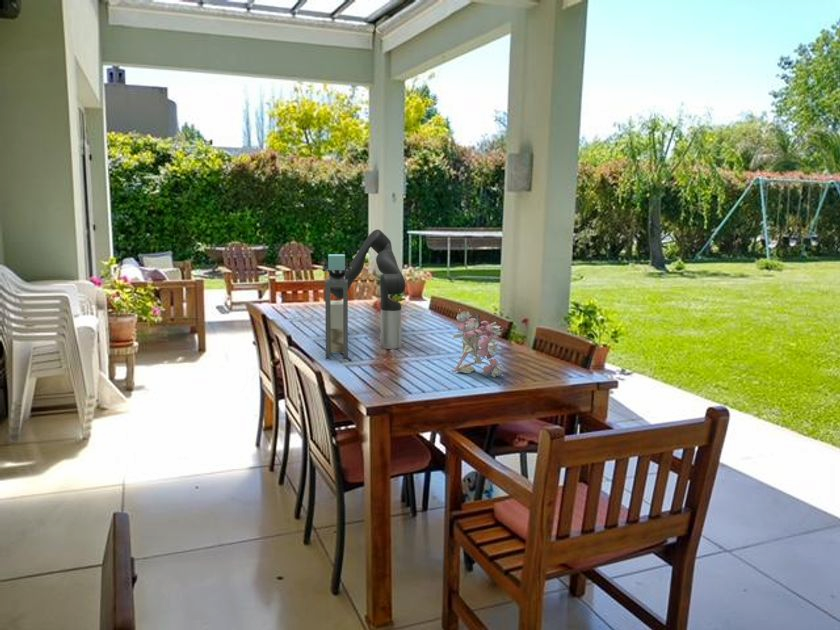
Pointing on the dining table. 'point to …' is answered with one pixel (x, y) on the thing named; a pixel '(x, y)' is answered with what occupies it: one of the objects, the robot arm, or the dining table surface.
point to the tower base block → (336, 340)
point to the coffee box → (474, 334)
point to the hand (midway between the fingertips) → (336, 259)
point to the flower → (485, 344)
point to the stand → (329, 284)
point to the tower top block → (336, 314)
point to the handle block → (336, 262)
